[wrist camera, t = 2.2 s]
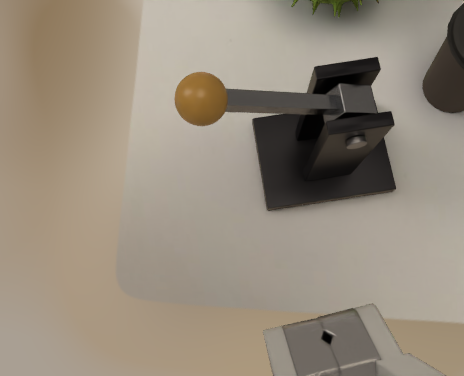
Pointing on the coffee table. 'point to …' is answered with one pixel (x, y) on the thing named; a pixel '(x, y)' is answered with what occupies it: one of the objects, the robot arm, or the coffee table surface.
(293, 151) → the black lever stand
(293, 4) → the chestnut
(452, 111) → the coffee cup
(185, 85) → the tap lever
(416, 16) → the coffee table surface
